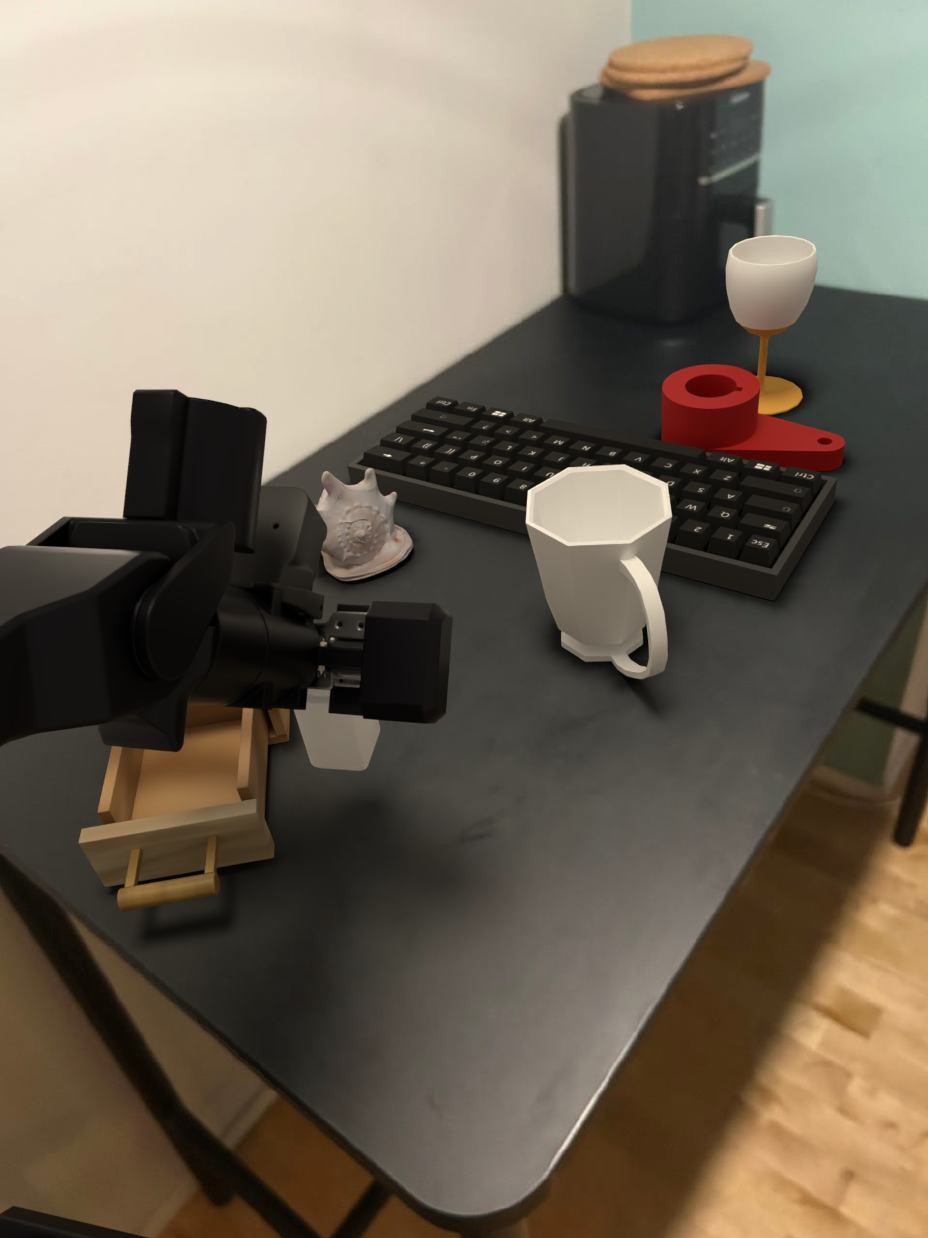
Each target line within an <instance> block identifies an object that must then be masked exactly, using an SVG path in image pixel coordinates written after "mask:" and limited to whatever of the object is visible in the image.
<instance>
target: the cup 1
mask: <svg viewBox="0 0 928 1238" xmlns="http://www.w3.org/2000/svg"><path fill="white" fill-rule="evenodd" d="M671 519H672V513H671V505H670V498H669V491H668V484H667V483H665V482H663V481H660V480H658V479H656V478H654V477H651V476H649V475H647V474H645V473H642V472H640V471H638V470H636V469H633V468H631V467H629V466H627V465H625V464H624V465H605V466H586V467H568V468H567V469H565V470H563V471H561V472H560V473H558V474H556V475H554V476H553V477H551V478H549V479H547V480H546V481H544V482H542V483H540V484H539V485H537V486H535V487H533V488H532V489H530V490H528V497H527V512H526V526H527V530H528V533H529V535H528V537H529V540H530V545H531V548H532V551H533V555H534V559H535V561H536V566H537V570H538V574H539V578H540V581H541V585H542V589H543V594H544V597H545V600H546V603H547V605H548V608H549V610H550V612H551V614H552V617H553V619H554V621H555V625H556V627H557V629H558V630H559V631H561V632H560V637H561V638H560V640H561V641H560V644H561V647H562V648H563V649H565V650H566V651H568V652H570V653H571V654H573V655H574V656H576V657H577V658H579V659H580V660H582V661H583V662H585V663H592V662H595V663H596V662H611V663H612V664H613V666H614V667H615V668H616V670H617V671H619V672H620V673H621V674H622V675H624V676H625V677H629V678H632V679H636V680H637V679H638V680H644V679H648V678H651V677H654V676H658V675H659V674H661V673H663V672H665V670H666V665H667V663H668V660H669V659H668V658H669V651H668V647H669V646H668V645H669V644H668V632H667V623H666V615H665V610H664V606H663V603H662V600H661V597H660V593H659V589H658V586H659V581H660V577H661V572H662V571H661V566H662V561H663V556H664V552H665V548H666V543H667V539H668V534H669V529H670V524H671ZM645 627H646V631H647V640H648V662H647V664H646V666H643V665H639V664H638V663H637V662H635V661H633V660H632V659H631V657H630V656H629V655H630V654H631V653H633V652H634V651H636V650H637V649H638V648H640V647H641V646H642V645H644V635H643V629H644V628H645Z"/></svg>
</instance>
